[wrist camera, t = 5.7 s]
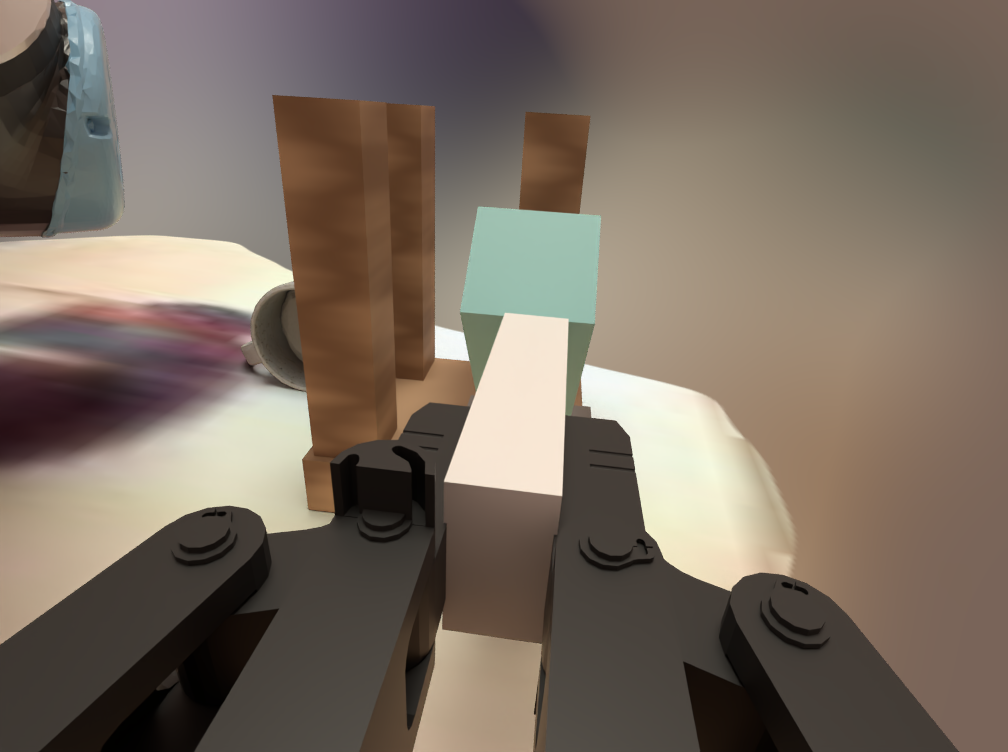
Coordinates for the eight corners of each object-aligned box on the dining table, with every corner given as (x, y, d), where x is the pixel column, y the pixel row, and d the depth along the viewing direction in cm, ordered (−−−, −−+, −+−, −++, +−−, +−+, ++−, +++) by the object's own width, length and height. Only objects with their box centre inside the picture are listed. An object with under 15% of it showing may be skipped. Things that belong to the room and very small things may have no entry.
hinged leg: (489, 468, 27) (455, 311, 13) (497, 408, 28) (474, 206, 14) (557, 476, 27) (599, 324, 13) (562, 415, 28) (604, 216, 14)
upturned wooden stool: (308, 509, 27) (255, 93, 19) (386, 391, 39) (374, 102, 31) (578, 540, 26) (642, 118, 18) (575, 410, 38) (613, 117, 30)
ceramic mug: (398, 354, 45) (394, 262, 42) (356, 399, 38) (346, 292, 34) (281, 341, 47) (267, 251, 43) (218, 381, 39) (196, 277, 36)
